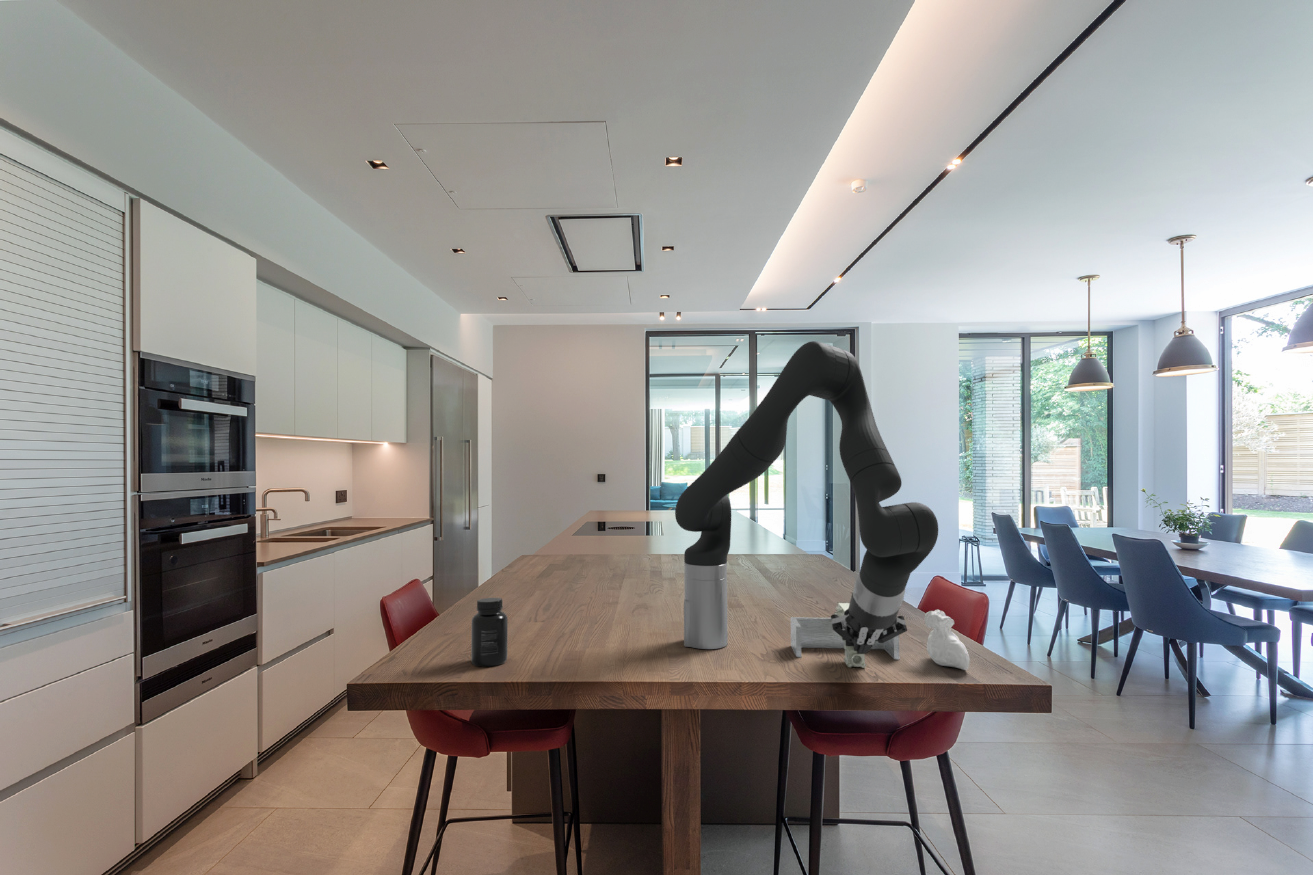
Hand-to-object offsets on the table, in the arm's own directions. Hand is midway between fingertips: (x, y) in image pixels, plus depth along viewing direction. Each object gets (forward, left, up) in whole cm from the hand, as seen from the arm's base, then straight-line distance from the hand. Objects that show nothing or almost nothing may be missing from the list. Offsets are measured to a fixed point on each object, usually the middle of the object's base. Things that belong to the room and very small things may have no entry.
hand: (860, 649), depth 110 cm
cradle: (0, +15, -5) cm, 15 cm away
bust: (+18, +9, -5) cm, 21 cm away
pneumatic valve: (0, +7, -5) cm, 8 cm away
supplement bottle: (-70, +3, -5) cm, 70 cm away
